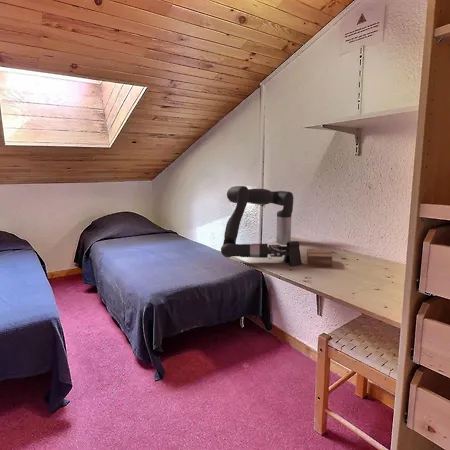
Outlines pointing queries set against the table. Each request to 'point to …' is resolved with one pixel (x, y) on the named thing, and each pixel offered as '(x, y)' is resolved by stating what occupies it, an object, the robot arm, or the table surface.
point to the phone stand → (293, 254)
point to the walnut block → (319, 258)
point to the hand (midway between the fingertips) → (289, 250)
